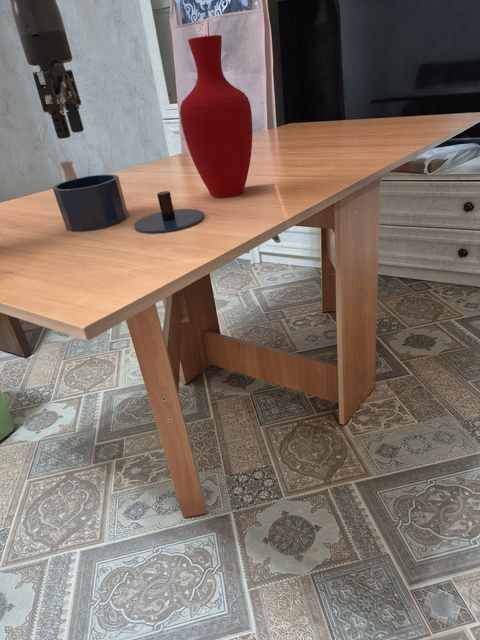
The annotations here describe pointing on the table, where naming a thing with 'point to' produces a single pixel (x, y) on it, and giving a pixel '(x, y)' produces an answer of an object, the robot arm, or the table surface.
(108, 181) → the pot
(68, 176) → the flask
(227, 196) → the vase
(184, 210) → the lid
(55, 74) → the robot arm
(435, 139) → the table surface
